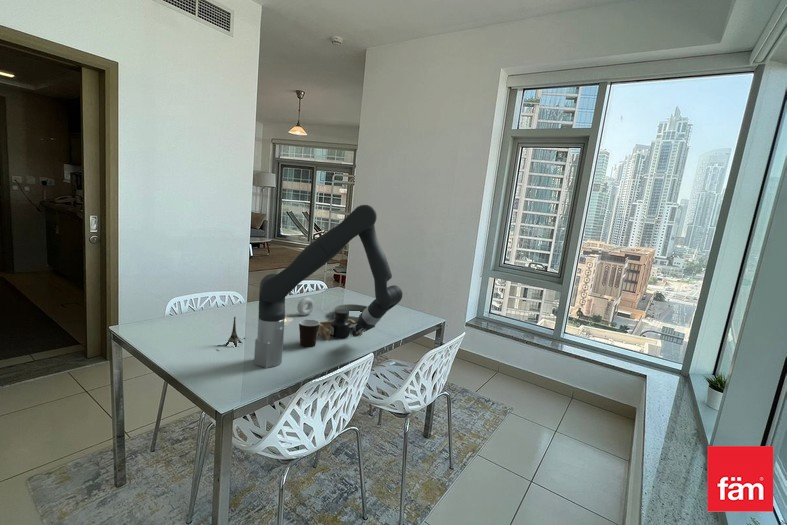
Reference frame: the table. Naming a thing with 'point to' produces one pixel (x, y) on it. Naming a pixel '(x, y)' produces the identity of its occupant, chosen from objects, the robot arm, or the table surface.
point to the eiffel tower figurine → (234, 336)
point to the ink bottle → (340, 324)
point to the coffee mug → (308, 332)
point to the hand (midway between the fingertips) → (353, 334)
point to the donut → (309, 308)
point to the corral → (329, 328)
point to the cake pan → (351, 309)
